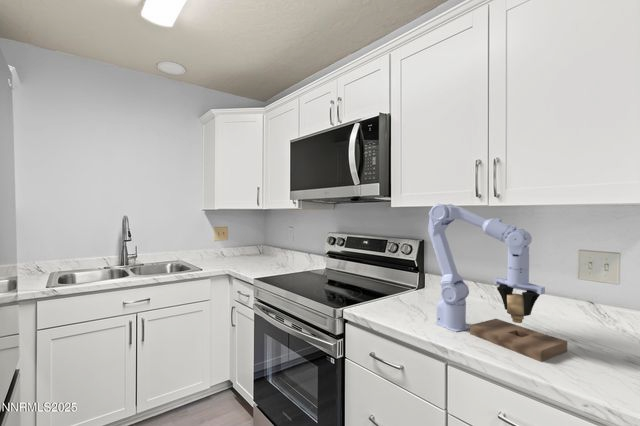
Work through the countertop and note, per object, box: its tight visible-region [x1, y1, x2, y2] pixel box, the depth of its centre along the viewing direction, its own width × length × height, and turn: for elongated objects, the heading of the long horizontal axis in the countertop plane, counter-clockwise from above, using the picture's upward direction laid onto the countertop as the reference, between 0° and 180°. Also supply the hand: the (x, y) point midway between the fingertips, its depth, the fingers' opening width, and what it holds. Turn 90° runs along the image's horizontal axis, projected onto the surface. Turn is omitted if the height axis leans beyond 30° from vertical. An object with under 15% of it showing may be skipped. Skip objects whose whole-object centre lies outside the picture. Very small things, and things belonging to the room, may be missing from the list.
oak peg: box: [506, 293, 527, 324], centre depth 100 cm, size 6×6×8 cm
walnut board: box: [469, 318, 568, 362], centre depth 101 cm, size 22×14×3 cm, turn 28°
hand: (517, 312), depth 100 cm, fingers closed on oak peg, 5 cm apart
